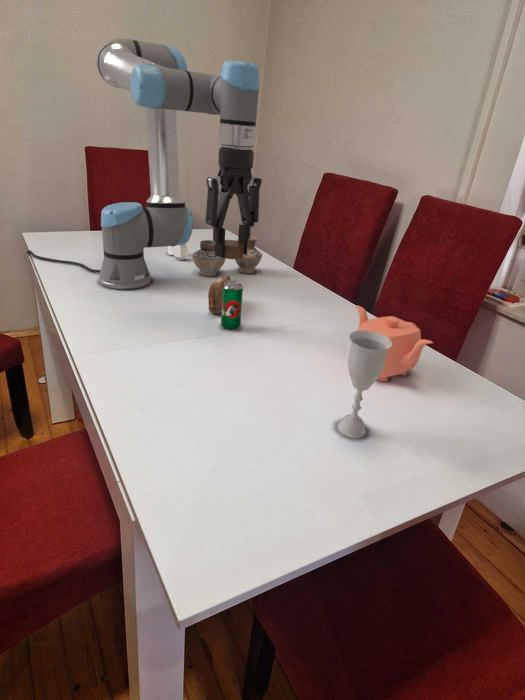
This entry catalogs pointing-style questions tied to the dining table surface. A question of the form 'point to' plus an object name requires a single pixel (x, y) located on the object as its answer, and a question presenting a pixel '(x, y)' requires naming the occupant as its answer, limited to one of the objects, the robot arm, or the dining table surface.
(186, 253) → the shaker set
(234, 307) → the soda can
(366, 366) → the chalice
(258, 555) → the dining table surface
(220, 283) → the bread slice
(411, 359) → the teapot
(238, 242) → the brown short cylinder
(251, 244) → the pottery
